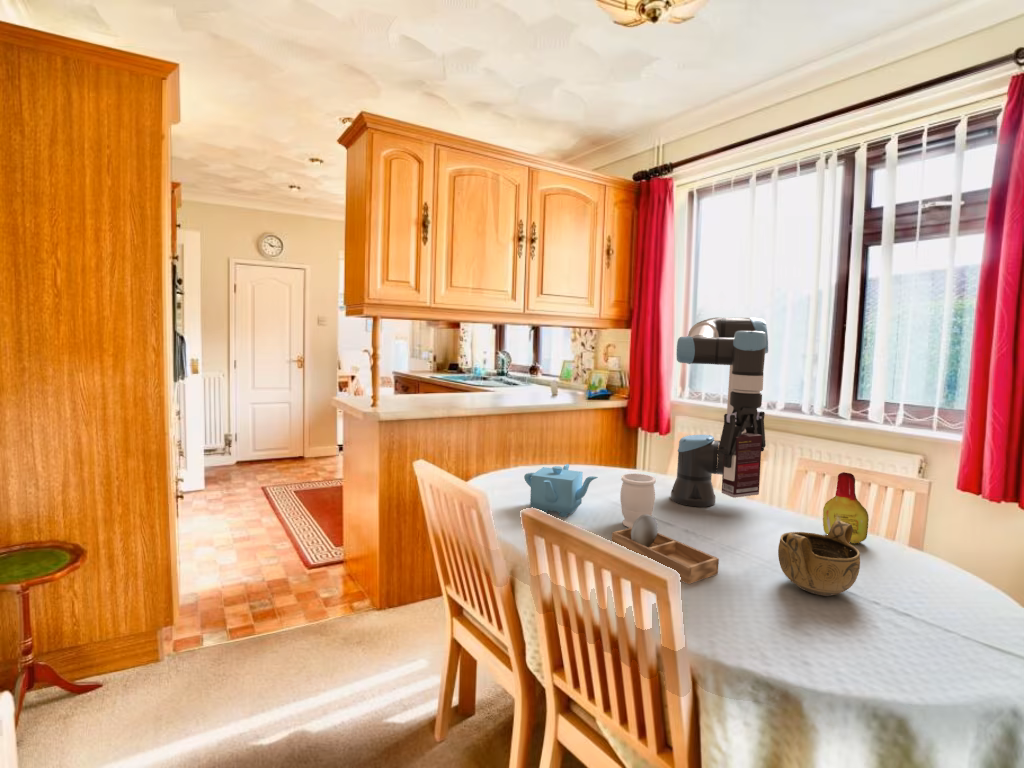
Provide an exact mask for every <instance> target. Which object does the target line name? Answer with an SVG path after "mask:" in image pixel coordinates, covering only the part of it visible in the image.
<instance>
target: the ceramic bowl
mask: <svg viewBox="0 0 1024 768" xmlns="http://www.w3.org/2000/svg"><path fill="white" fill-rule="evenodd" d="M852 532H853V527H852V525H850V524H848V523H845V522H842V521H835V522H834V524H833V525H832V527H831V529H830V532H829V534H828V535H827V534H825V535H824V534H819V533H813V532H806V531H805V532H804V531H790V532H784V533H783V534H781V535H780V538H779V543H778V549H777V551H778V553H777V554H778V563H779V566H780V568H781V571H782V573H783V574H784V575H785V577H787V579H789V580H790V582H791V583H793V584H794V585H796V587H798V588H800V589H801V590H804V591H806V592H808V593H811V594H814V595H817V596H825V597H828V596H836V595H839V594H842V593H844V592H846V591H848V590H849V589H850V588H851V587H853V585H854V584H855V583H856V581H857V579H858V576H859V575H860V574H859V573H860V568H861V557H860V551H859V549H858V548H857V547H855V546H854V545H853V544H851V543H850V540H851V536H852Z"/></svg>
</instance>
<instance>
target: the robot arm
mask: <svg viewBox="0 0 1024 768" xmlns="http://www.w3.org/2000/svg"><path fill="white" fill-rule="evenodd" d="M676 343H677V344H676V361H677V362H678V363H680V364H688V365H691V364H692V365H693V364H695V365H721V366H729V375H728V376H729V377H728V388H727V389H728V391H727V405H726V413H725V414H724V415H723V427H722V432H721V435H720V440H716V439H715V437H714V436H713V435H711V434H691V435H690V434H689V435H685V436H683V437H681V438H680V439H679V441H678V448H677V452H678V453H677V455H678V456H677V469H676V478H675V481H674V484H673V486H672V489H671V491H670V499H671V501H673V502H675V503H677V504H679V505H683V506H689V507H700V508H702V507H705V508H706V507H712V506H714V505H715V504H716V498H717V497H716V494H715V491H714V490H715V489H714V487H713V486H714V485H713V482H712V476H713V475H722V476H723V458H724V477H723V479H727V480H730V481H734V480H735V464H736V455H734V452H735V450H736V439H737V438H735V437H739V436H741V433H752V434H760V435H762V445H761V452H764V451H765V448H766V446H767V445H766V431H765V416H766V415H765V414H766V413H765V411H761V410H758V409H760V408H761V407H762V405H763V404H762V402H763V394H762V391H763V390H764V369H765V359H766V358H765V357H766V354H768V353H769V336H768V327H767V322H766V321H765V319H763V318H758V317H711V318H707V319H703V320H700V321H699V322H696V323H695V324H693V325H692V327H691V328H690V329H689V331H688V334H687V336H680V337H678V339H677V342H676ZM730 449H731V450H730Z"/></svg>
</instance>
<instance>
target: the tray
mask: <svg viewBox="0 0 1024 768" xmlns="http://www.w3.org/2000/svg"><path fill="white" fill-rule="evenodd" d="M658 530H659V525H658V522H657V519H656V518H655V517H654V516H650V515H647V514H645V515H641V516H640V517H638V518H637V519H636V521H635V522H634V524H633V527H632V528H629V527H627V528H625V529H620V530H616V531H613V532H611V542H612V541H613V542H615V543H617V544H619V545H621V546H624V547H626V548H627V549H629V550H632V551H634V552H636V553H639V554H641V555H644V556H647V557H648V558H651V559H653V560H655V561H657V562H659V563H661V564H663V565H665V566H667V567H670V568H672V569H674V570H676V571H677V572H678V573H679V574H680V577H681V580H680V581H681V582H683V583H685V584H687V585H691V584H693V583H696V582H698V581H702V580H704V579H707V578H711V577H714V576H717V575H719V562H720V561H719V560H720V558H718V557H716V556H714V555H711V554H709V553H707V552H704V551H701V550H700V549H697V548H695V547H692V546H690V545H688V544H686V543H684V542H683V543H682V542H681V541H679V540H676V539H674V538H671V537H670V536H666V535H664V534H661V533H659V532H658Z"/></svg>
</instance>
